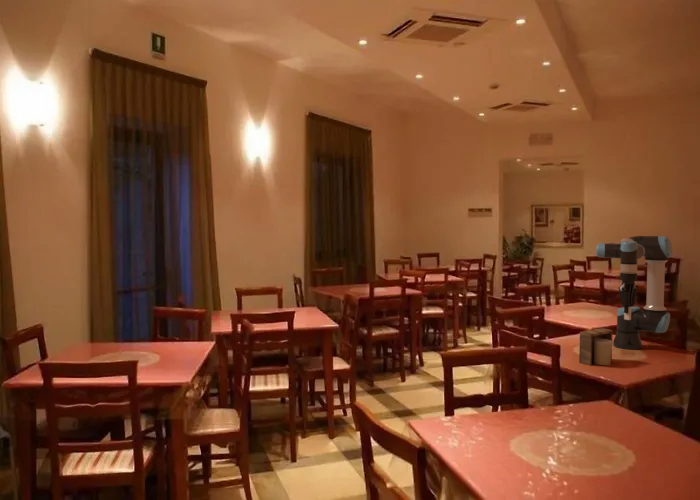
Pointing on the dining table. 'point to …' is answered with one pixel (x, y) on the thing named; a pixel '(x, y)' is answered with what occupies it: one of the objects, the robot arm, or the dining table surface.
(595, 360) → the coffee cup
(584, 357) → the cubby
